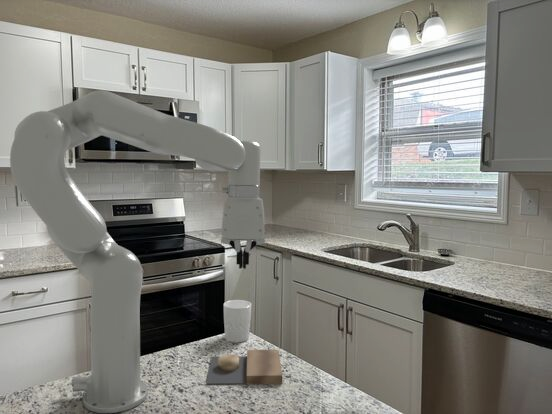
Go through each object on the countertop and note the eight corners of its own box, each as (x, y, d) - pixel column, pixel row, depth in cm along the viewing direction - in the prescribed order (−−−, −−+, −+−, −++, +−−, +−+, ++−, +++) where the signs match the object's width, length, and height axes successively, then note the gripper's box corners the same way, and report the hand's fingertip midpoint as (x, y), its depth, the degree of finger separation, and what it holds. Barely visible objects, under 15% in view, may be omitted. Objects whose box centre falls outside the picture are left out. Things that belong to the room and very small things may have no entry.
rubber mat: (206, 384, 96) (206, 383, 96) (211, 357, 110) (211, 356, 110) (246, 384, 96) (246, 383, 96) (247, 357, 110) (247, 356, 110)
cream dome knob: (215, 370, 102) (215, 362, 102) (221, 361, 107) (221, 353, 107) (236, 372, 101) (236, 364, 101) (240, 363, 106) (240, 355, 106)
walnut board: (246, 384, 96) (246, 375, 96) (247, 357, 110) (247, 349, 110) (282, 383, 97) (282, 375, 96) (278, 357, 111) (278, 349, 110)
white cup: (217, 338, 122) (217, 304, 121) (236, 331, 128) (236, 298, 128) (238, 345, 117) (238, 310, 117) (256, 337, 124) (257, 303, 123)
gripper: (211, 192, 100) (210, 270, 102) (275, 194, 101) (273, 271, 102) (214, 191, 108) (213, 263, 109) (274, 192, 108) (272, 264, 110)
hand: (242, 267), depth 106 cm, fingers closed
